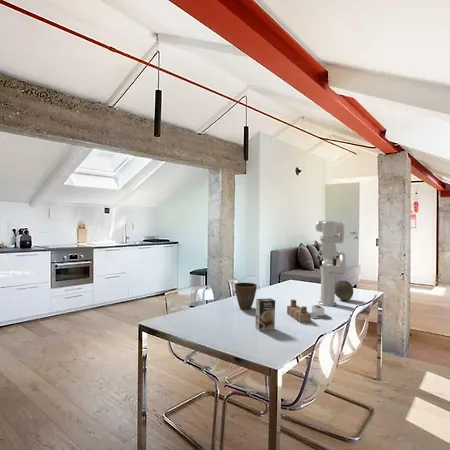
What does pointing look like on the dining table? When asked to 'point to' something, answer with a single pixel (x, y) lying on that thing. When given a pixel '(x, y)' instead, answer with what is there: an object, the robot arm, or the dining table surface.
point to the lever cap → (318, 311)
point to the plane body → (298, 312)
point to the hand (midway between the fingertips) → (327, 265)
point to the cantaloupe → (343, 290)
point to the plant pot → (245, 294)
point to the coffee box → (265, 314)
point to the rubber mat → (320, 317)
